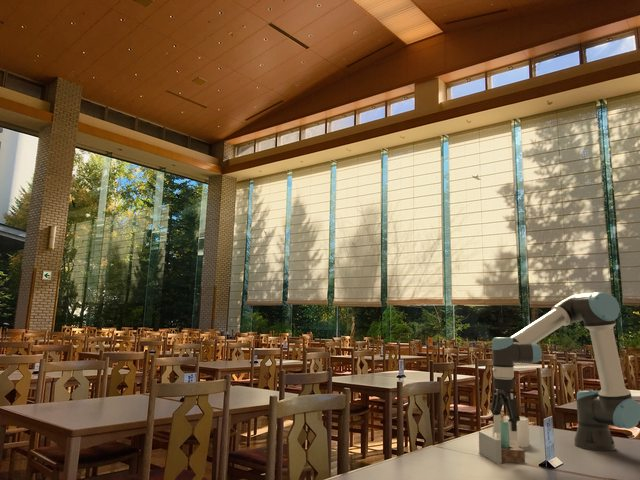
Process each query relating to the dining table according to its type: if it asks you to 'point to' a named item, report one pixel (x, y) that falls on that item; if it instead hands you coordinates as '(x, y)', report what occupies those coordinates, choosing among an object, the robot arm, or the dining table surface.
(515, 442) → the cup
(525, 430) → the mug
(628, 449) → the dining table surface
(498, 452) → the wall
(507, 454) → the block
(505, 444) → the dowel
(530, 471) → the dining table surface
